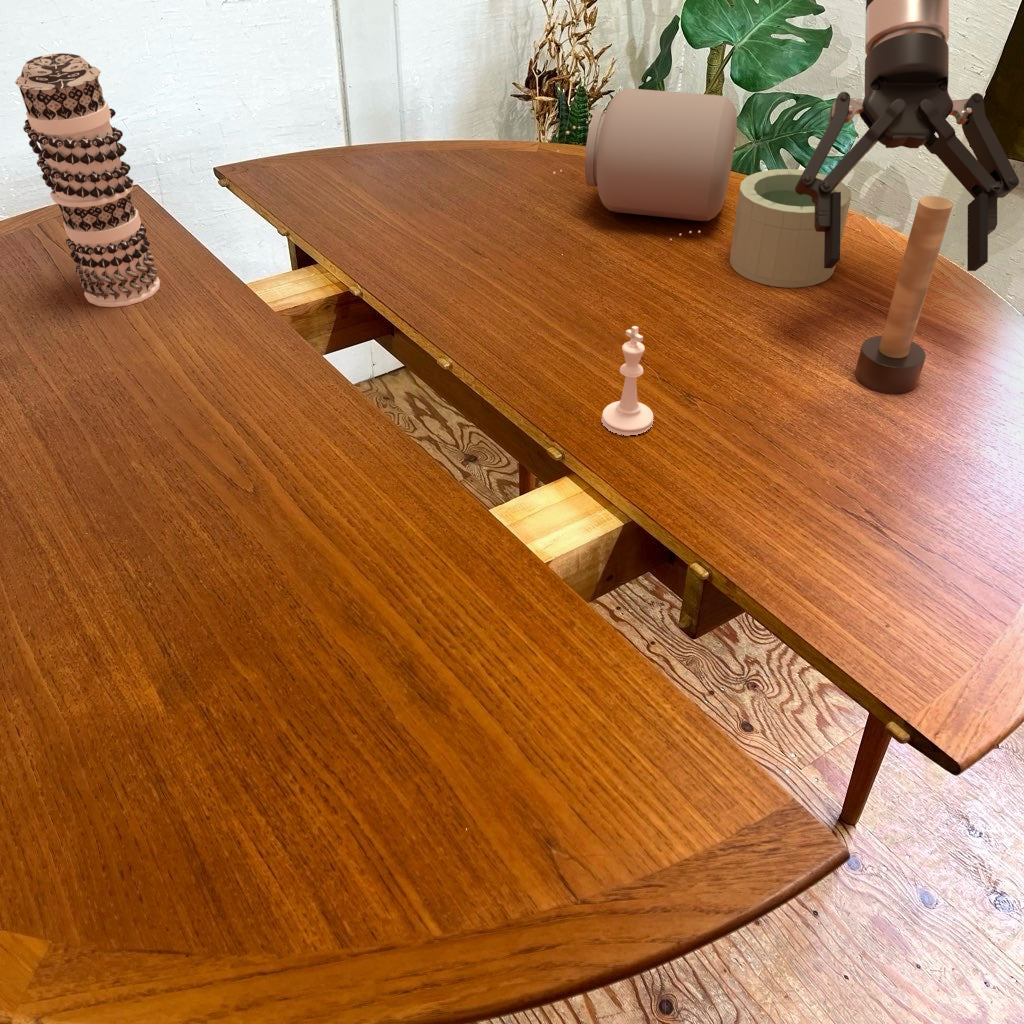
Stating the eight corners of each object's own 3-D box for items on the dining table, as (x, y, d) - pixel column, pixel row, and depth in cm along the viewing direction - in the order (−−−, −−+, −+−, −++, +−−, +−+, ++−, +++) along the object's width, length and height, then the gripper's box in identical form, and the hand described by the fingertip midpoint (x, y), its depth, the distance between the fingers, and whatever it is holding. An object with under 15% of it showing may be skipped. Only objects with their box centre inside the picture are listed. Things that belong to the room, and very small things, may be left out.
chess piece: (627, 399, 93) (634, 307, 86) (664, 422, 90) (675, 328, 84) (590, 419, 91) (595, 326, 84) (627, 443, 88) (635, 348, 81)
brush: (915, 364, 97) (968, 191, 85) (919, 397, 93) (976, 219, 81) (853, 357, 98) (898, 186, 86) (855, 389, 94) (902, 213, 82)
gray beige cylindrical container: (834, 246, 118) (850, 173, 112) (834, 292, 109) (852, 216, 103) (733, 236, 120) (743, 165, 114) (725, 281, 111) (736, 206, 105)
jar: (700, 225, 111) (506, 163, 117) (700, 274, 125) (527, 216, 131) (762, 80, 112) (567, 25, 118) (755, 145, 127) (582, 93, 132)
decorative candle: (77, 280, 113) (1, 54, 97) (158, 265, 116) (96, 42, 100) (84, 315, 107) (3, 79, 91) (169, 298, 110) (105, 66, 93)
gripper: (1019, 71, 96) (1019, 279, 95) (767, 70, 97) (763, 275, 96) (1058, 29, 88) (1059, 254, 87) (784, 27, 90) (780, 249, 88)
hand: (904, 265), depth 91 cm, fingers open, 13 cm apart
